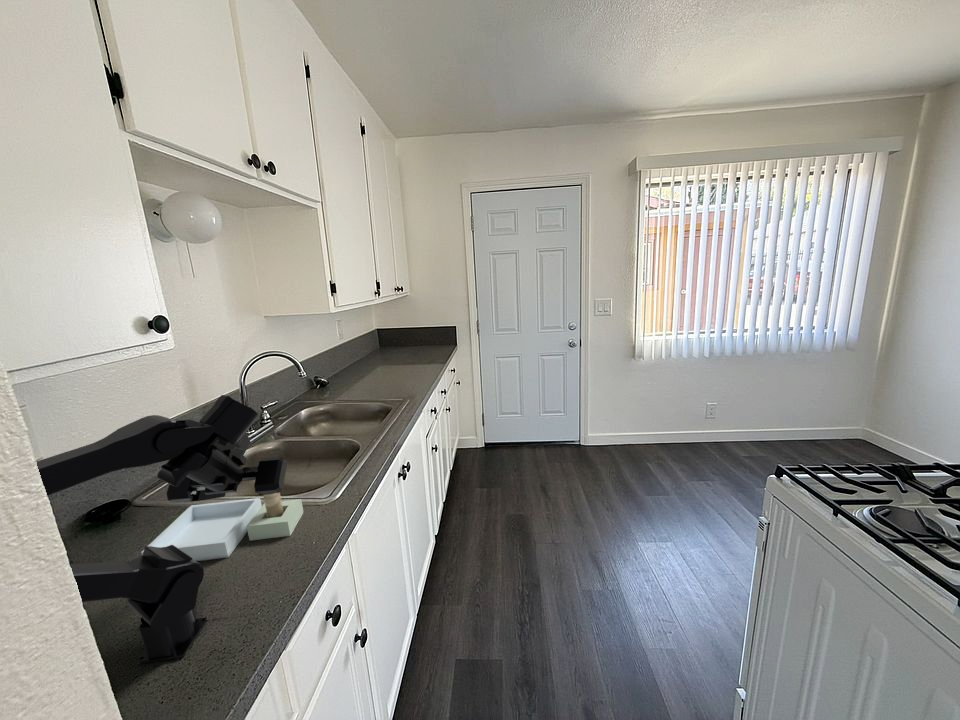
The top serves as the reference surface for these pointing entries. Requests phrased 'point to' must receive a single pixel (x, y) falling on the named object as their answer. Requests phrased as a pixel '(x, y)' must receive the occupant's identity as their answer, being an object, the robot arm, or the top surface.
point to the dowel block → (275, 521)
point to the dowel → (273, 505)
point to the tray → (209, 529)
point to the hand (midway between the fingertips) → (249, 491)
